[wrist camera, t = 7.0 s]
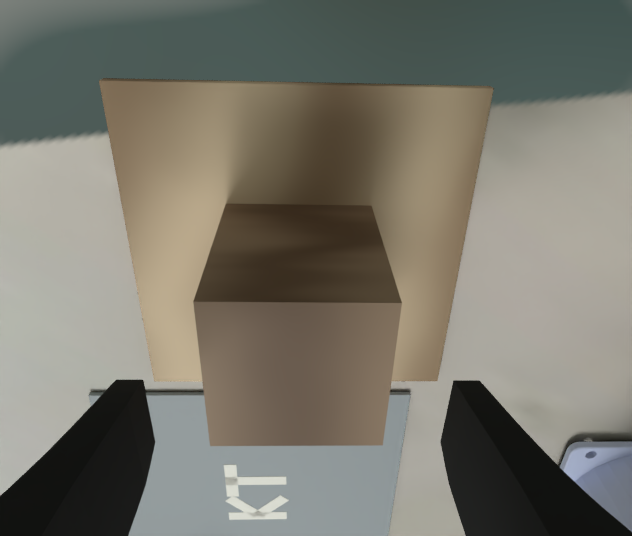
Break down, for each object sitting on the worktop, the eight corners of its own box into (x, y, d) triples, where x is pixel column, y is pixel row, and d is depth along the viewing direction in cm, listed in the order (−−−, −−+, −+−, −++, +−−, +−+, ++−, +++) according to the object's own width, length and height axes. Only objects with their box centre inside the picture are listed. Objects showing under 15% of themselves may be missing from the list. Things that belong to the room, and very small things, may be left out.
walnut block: (371, 205, 17) (402, 303, 12) (361, 322, 20) (382, 445, 15) (225, 203, 17) (193, 301, 12) (234, 322, 20) (210, 446, 14)
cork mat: (489, 86, 16) (493, 88, 15) (434, 374, 22) (437, 381, 21) (103, 78, 15) (99, 80, 15) (156, 375, 21) (154, 381, 21)
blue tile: (409, 391, 22) (410, 395, 22) (381, 568, 29) (382, 573, 29) (90, 392, 22) (88, 396, 22) (139, 572, 29) (138, 576, 29)
